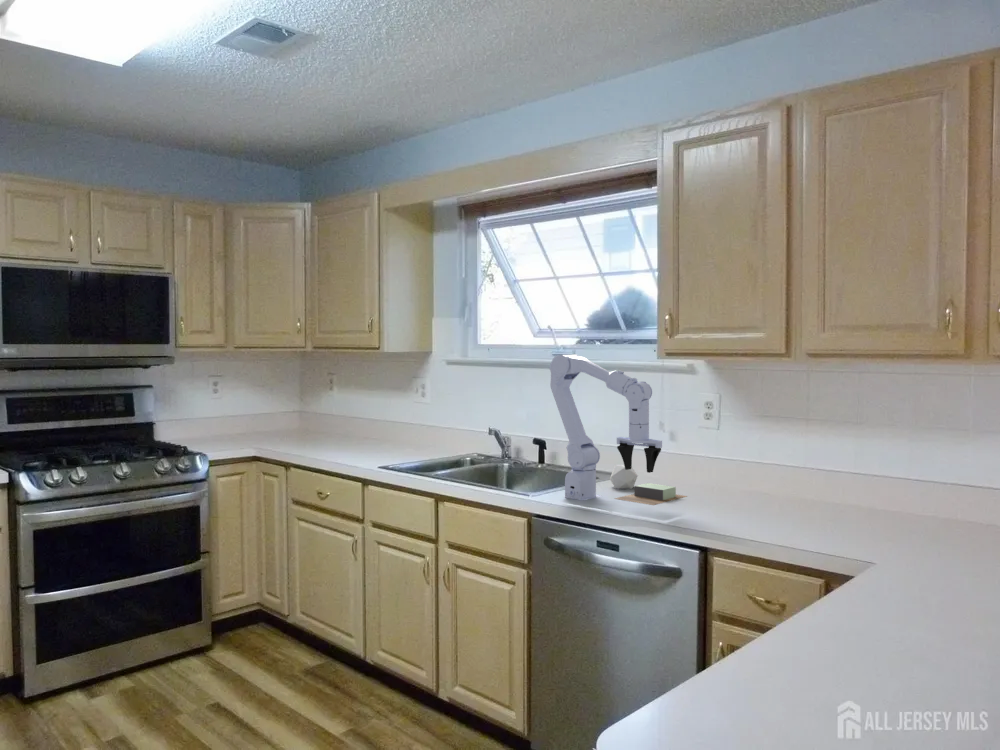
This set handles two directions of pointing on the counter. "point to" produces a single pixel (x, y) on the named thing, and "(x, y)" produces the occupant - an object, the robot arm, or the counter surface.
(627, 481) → the die
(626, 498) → the walnut board
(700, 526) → the counter surface
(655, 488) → the sage slab
